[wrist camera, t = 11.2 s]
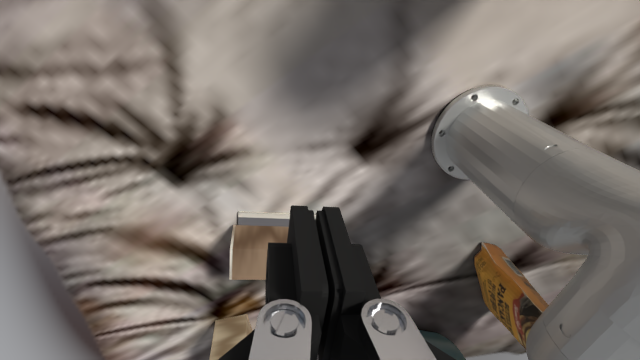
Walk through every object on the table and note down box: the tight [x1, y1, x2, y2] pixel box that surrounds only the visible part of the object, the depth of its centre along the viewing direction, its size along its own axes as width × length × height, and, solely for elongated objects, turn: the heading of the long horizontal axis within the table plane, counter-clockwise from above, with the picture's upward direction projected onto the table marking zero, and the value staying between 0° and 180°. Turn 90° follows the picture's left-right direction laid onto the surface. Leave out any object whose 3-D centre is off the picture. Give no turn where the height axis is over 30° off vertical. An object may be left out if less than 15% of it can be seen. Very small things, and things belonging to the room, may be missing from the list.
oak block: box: [210, 314, 252, 360], centre depth 56 cm, size 5×5×7 cm
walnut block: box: [229, 225, 289, 280], centre depth 49 cm, size 5×5×10 cm
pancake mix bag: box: [474, 242, 549, 349], centre depth 48 cm, size 7×19×28 cm, turn 22°
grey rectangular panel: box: [238, 211, 316, 227], centre depth 51 cm, size 12×9×1 cm
